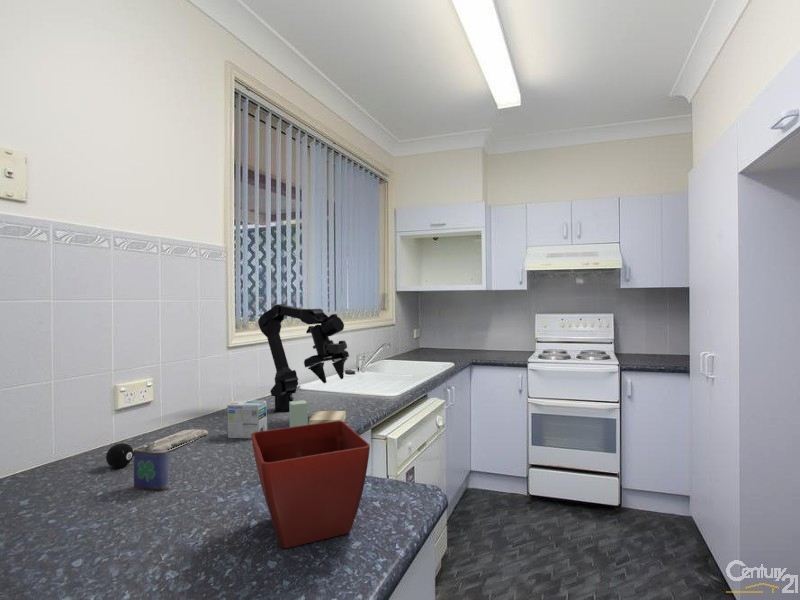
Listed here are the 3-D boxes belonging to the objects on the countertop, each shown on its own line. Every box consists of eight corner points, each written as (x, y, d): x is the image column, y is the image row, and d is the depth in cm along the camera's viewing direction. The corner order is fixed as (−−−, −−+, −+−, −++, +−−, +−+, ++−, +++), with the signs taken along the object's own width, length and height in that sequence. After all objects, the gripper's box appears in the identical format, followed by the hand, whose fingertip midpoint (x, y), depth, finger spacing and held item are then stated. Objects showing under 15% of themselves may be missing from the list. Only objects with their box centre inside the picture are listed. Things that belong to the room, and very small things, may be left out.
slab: (308, 429, 150) (308, 420, 150) (315, 419, 162) (315, 411, 162) (341, 428, 150) (341, 419, 150) (345, 419, 162) (345, 410, 162)
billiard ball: (120, 471, 115) (120, 448, 115) (100, 470, 116) (100, 447, 116) (138, 463, 121) (138, 441, 121) (119, 462, 122) (119, 440, 122)
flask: (171, 487, 104) (170, 441, 104) (161, 492, 102) (160, 445, 101) (140, 483, 107) (139, 439, 107) (129, 488, 104) (128, 442, 104)
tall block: (289, 431, 148) (289, 401, 148) (304, 429, 149) (304, 400, 149) (292, 435, 143) (291, 404, 143) (307, 433, 145) (307, 403, 145)
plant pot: (263, 566, 73) (261, 462, 73) (251, 515, 90) (250, 431, 90) (373, 539, 80) (371, 445, 80) (343, 496, 98) (342, 420, 98)
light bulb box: (267, 432, 147) (267, 400, 147) (259, 439, 140) (258, 404, 140) (236, 432, 148) (236, 399, 148) (227, 438, 141) (226, 404, 141)
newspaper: (156, 460, 125) (155, 451, 125) (124, 460, 128) (123, 451, 129) (214, 435, 146) (214, 428, 146) (185, 436, 150) (184, 429, 150)
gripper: (318, 335, 154) (332, 378, 151) (353, 331, 169) (365, 370, 166) (297, 345, 160) (310, 387, 156) (332, 341, 175) (344, 379, 172)
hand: (333, 380), depth 163 cm, fingers open, 9 cm apart
